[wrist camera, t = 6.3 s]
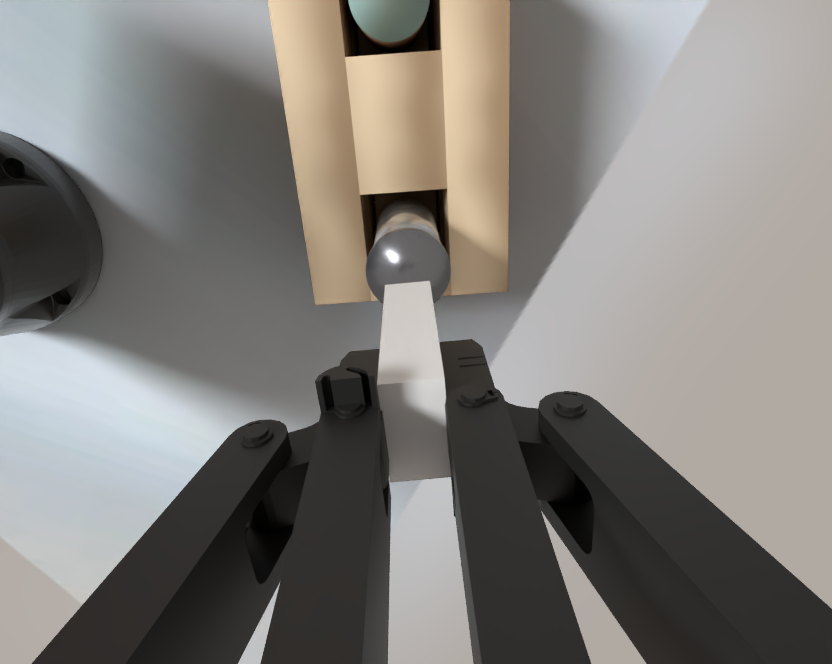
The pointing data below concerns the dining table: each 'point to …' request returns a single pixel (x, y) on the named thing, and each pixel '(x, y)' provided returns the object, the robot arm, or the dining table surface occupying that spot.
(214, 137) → the dining table surface
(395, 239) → the metal pin
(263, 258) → the dining table surface
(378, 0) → the walnut peg
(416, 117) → the oak block
